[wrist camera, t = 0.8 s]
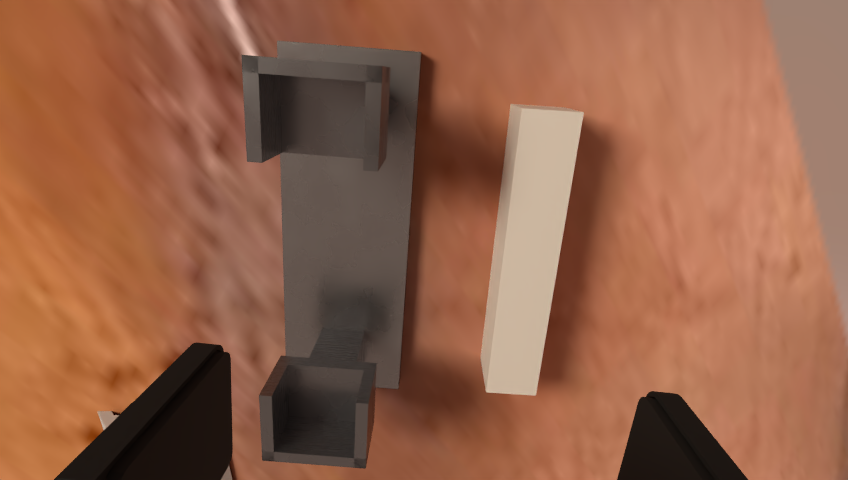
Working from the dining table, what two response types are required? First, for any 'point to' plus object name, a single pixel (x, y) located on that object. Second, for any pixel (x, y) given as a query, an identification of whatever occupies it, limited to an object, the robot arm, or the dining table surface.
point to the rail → (527, 243)
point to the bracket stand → (335, 237)
